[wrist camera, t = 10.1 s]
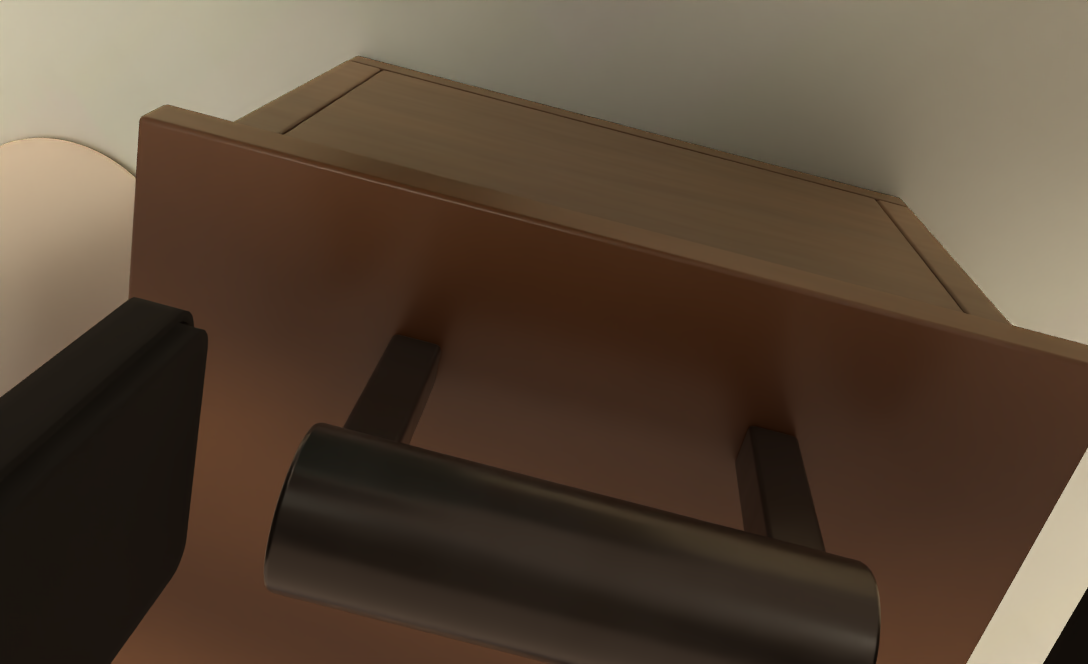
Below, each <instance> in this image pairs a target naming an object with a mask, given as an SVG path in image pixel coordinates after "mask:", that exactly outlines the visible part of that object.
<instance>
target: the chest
mask: <svg viewBox="0 0 1088 664" xmlns="http://www.w3.org/2000/svg"><path fill="white" fill-rule="evenodd" d="M234 122H236V123H240V124H244V125H248V126H251V127H255V128H259V129H263V130H267V131H270V132H274V133H278V134H282V135H286V136H290V137H293V138H297V139H301V140H305V141H309V142H313V143H316V144H320V145H324V146H328V147H332V148H335V149H339V150H343V151H347V152H351V153H355V154H358V155H362V156H366V157H370V158H374V159H378V160H381V161H385V162H389V163H393V164H397V165H401V166H404V167H408V168H412V169H416V170H420V171H423V172H427V173H431V174H435V175H439V176H443V177H446V178H450V179H454V180H458V181H462V182H466V183H469V184H473V185H477V186H481V187H485V188H489V189H492V190H496V191H500V192H504V193H508V194H511V195H515V196H519V197H523V198H527V199H531V200H534V201H538V202H542V203H546V204H550V205H554V206H557V207H561V208H565V209H569V210H573V211H576V212H580V213H584V214H588V215H592V216H596V217H599V218H603V219H607V220H611V221H615V222H619V223H622V224H626V225H630V226H634V227H638V228H642V229H645V230H649V231H653V232H657V233H661V234H664V235H668V236H672V237H676V238H680V239H684V240H687V241H691V242H695V243H699V244H703V245H707V246H710V247H714V248H718V249H722V250H726V251H729V252H733V253H737V254H741V255H745V256H749V257H752V258H756V259H760V260H764V261H768V262H772V263H775V264H779V265H783V266H787V267H791V268H795V269H798V270H802V271H806V272H810V273H814V274H817V275H821V276H825V277H829V278H833V279H837V280H840V281H844V282H848V283H852V284H856V285H860V286H863V287H867V288H871V289H875V290H879V291H882V292H886V293H890V294H894V295H898V296H902V297H905V298H909V299H913V300H917V301H921V302H925V303H928V304H932V305H936V306H940V307H944V308H948V309H951V310H955V311H959V312H963V313H967V314H970V315H974V316H978V317H982V318H986V319H990V320H993V321H997V322H1001V323H1005V324H1009V325H1011V324H1010V323H1009V322H1008V320H1007V319H1006V318H1005V317H1004V316H1003V315H1002V314H1001V312H1000V311H999V310H998V309H997V308H996V307H995V306H994V304H993V303H992V302H991V301H990V300H989V299H988V298H987V296H986V295H985V294H984V293H983V292H982V291H981V290H980V288H979V287H978V286H977V285H976V284H975V283H974V282H973V280H972V279H971V278H970V277H969V276H968V275H967V274H966V272H965V271H964V270H963V269H962V268H961V267H960V266H959V264H958V263H957V262H956V261H955V260H954V259H953V258H952V256H951V255H950V254H949V253H948V252H947V251H946V250H945V248H944V247H943V246H942V245H941V244H940V243H939V242H938V240H937V239H936V238H935V237H934V236H933V235H932V234H931V232H930V231H929V230H928V229H927V228H926V227H925V226H924V224H923V223H922V222H921V221H920V220H919V219H918V218H917V216H916V215H915V214H914V213H913V212H912V211H911V210H910V209H909V208H908V206H907V205H906V204H905V203H904V202H903V201H902V200H901V199H900V198H897V197H893V196H890V195H886V194H882V193H878V192H874V191H871V190H867V189H863V188H859V187H855V186H852V185H848V184H844V183H840V182H836V181H833V180H829V179H825V178H821V177H817V176H814V175H810V174H806V173H802V172H798V171H794V170H791V169H787V168H783V167H779V166H775V165H772V164H768V163H764V162H760V161H756V160H753V159H749V158H745V157H741V156H737V155H734V154H730V153H726V152H722V151H718V150H715V149H711V148H707V147H703V146H699V145H696V144H692V143H688V142H684V141H680V140H677V139H673V138H669V137H665V136H661V135H658V134H654V133H650V132H646V131H642V130H638V129H635V128H631V127H627V126H623V125H619V124H616V123H612V122H608V121H604V120H600V119H597V118H593V117H589V116H585V115H581V114H578V113H574V112H570V111H566V110H562V109H559V108H555V107H551V106H547V105H543V104H540V103H536V102H532V101H528V100H524V99H521V98H517V97H513V96H509V95H505V94H501V93H498V92H494V91H490V90H486V89H482V88H479V87H475V86H471V85H467V84H463V83H460V82H456V81H452V80H448V79H444V78H441V77H437V76H433V75H429V74H425V73H422V72H418V71H414V70H410V69H406V68H403V67H399V66H395V65H391V64H387V63H384V62H380V61H376V60H372V59H368V58H364V57H361V56H356V57H354V58H352V59H350V60H349V61H346V62H344V63H342V64H340V65H338V66H336V67H334V68H333V69H331V70H329V71H327V72H325V73H323V74H321V75H320V76H318V77H316V78H314V79H312V80H310V81H308V82H307V83H305V84H303V85H301V86H299V87H297V88H295V89H294V90H292V91H290V92H288V93H286V94H284V95H282V96H281V97H279V98H277V99H275V100H273V101H271V102H270V103H268V104H266V105H264V106H262V107H260V108H258V109H257V110H255V111H253V112H251V113H249V114H247V115H245V116H244V117H242V118H240V119H238V120H236V121H234Z"/></svg>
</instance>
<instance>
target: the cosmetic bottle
mask: <svg viewBox="0 0 1088 664" xmlns="http://www.w3.org/2000/svg"><path fill="white" fill-rule="evenodd" d="M135 184H136V178H135V177H134V176H133V175H132V174H131V173H129V172H128V171H127V170H126V169H125V168H123V167H122V166H120V165H119V164H118V163H116V162H115V161H113V160H112V159H110V158H108V157H106V156H105V155H103V154H101V153H99V152H97V151H95V150H92V149H90V148H88V147H85V146H83V145H79V144H76V143H73V142H69V141H64V140H59V139H51V138H29V139H21V140H16V141H12V142H9V143H6V144H3V145H0V397H1V396H3V395H4V394H5V393H7V392H8V391H9V390H11V389H12V388H13V387H15V386H16V385H17V384H18V383H20V382H21V381H22V380H24V379H25V378H26V377H28V376H29V375H30V374H32V373H33V372H34V371H35V370H37V369H38V368H39V367H41V366H42V365H43V364H45V363H46V362H47V361H49V360H50V359H51V358H52V357H54V356H55V355H56V354H58V353H59V352H60V351H62V350H63V349H64V348H66V347H67V346H68V345H69V344H71V343H72V342H73V341H75V340H76V339H77V338H79V337H80V336H81V335H83V334H84V333H85V332H86V331H88V330H89V329H90V328H92V327H93V326H94V325H96V324H97V323H98V322H100V321H101V320H102V319H103V318H105V317H106V316H107V315H109V314H110V313H111V312H113V311H114V310H115V309H117V308H118V307H119V306H120V305H122V304H123V303H124V302H126V301H127V300H128V294H129V278H130V262H131V247H132V231H133V215H134V200H135Z"/></svg>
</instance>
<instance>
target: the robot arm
mask: <svg viewBox="0 0 1088 664" xmlns="http://www.w3.org/2000/svg"><path fill="white" fill-rule="evenodd" d="M207 351H208V335H207V332H206V331H205V330H203V329H199V328H196V327H194V320H193V316H192V314H191V313H190V311H186V310H183V309H179V308H175V307H171V306H168V305H164V304H160V303H156V302H153V301H149V300H145V299H141V298H137V297H133V298H131V299H129V300H127V301H126V302H124V303H123V304H122V305H120V306H119V307H118V308H117V309H115V310H114V311H113V312H111V313H110V314H109V315H107V316H106V317H105V318H103V319H102V320H101V321H100V322H98V323H97V324H96V325H94V326H93V327H92V328H90V329H89V330H88V331H86V332H85V333H84V334H83V335H81V336H80V337H79V338H77V339H76V340H75V341H73V342H72V343H71V344H69V345H68V346H67V347H66V348H64V349H63V350H62V351H60V352H59V353H58V354H56V355H55V356H54V357H52V358H51V359H50V360H49V361H47V362H46V363H45V364H43V365H42V366H41V367H39V368H38V369H37V370H35V371H34V372H33V373H32V374H30V375H29V376H28V377H26V378H25V379H24V380H22V381H21V382H20V383H18V384H17V385H16V386H15V387H13V388H12V389H11V390H9V391H8V392H7V393H5V394H4V395H3V396H1V397H0V664H111V662H112V661H113V660H114V658H115V657H116V655H117V654H118V653H119V651H120V650H121V649H122V647H123V646H124V644H125V643H126V642H127V640H128V639H129V637H130V636H131V635H132V633H133V632H134V630H135V629H136V628H137V626H138V625H139V623H140V622H141V621H142V619H143V618H144V616H145V615H146V614H147V612H148V611H149V609H150V608H151V607H152V605H153V604H154V602H155V601H156V600H157V598H158V597H159V595H160V594H161V593H162V591H163V590H164V588H165V587H166V586H167V584H168V583H169V581H170V580H171V579H172V577H173V575H174V574H175V572H176V570H177V568H178V566H179V564H180V561H181V559H182V556H183V553H184V549H185V545H186V539H187V530H188V521H189V512H190V503H191V494H192V485H193V476H194V467H195V458H196V449H197V441H198V432H199V423H200V414H201V405H202V396H203V387H204V378H205V369H206V360H207ZM1043 664H1088V588H1087V590H1086V591H1085V593H1084V595H1083V597H1082V598H1081V600H1080V602H1079V603H1078V605H1077V607H1076V609H1075V610H1074V612H1073V614H1072V615H1071V617H1070V619H1069V620H1068V622H1067V624H1066V626H1065V627H1064V629H1063V631H1062V632H1061V634H1060V636H1059V638H1058V639H1057V641H1056V643H1055V644H1054V646H1053V648H1052V649H1051V651H1050V653H1049V655H1048V656H1047V658H1046V660H1045V661H1044V663H1043Z"/></svg>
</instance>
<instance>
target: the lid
mask: <svg viewBox="0 0 1088 664" xmlns="http://www.w3.org/2000/svg"><path fill="white" fill-rule="evenodd" d="M133 297H137V298H141V299H145V300H149V301H153V302H156V303H160V304H164V305H168V306H171V307H175V308H179V309H183V310H186V311H190V313H191V314H192V316H193V320H194V327H196V328H199V329H203V330H205V331H206V332H207V335H208V351H207V360H206V369H205V378H204V387H203V396H202V405H201V414H200V423H199V432H198V441H197V449H196V458H195V467H194V476H193V485H192V494H191V503H190V512H189V521H188V530H187V539H186V545H185V549H184V553H183V556H182V559H181V561H180V564H179V566H178V568H177V570H176V572H175V574H174V575H173V577H172V579H171V580H170V581H169V583H168V584H167V586H166V587H165V588H164V590H163V591H162V593H161V594H160V595H159V597H158V598H157V600H156V601H155V602H154V604H153V605H152V607H151V608H150V609H149V611H148V612H147V614H146V615H145V616H144V618H143V619H142V621H141V622H140V623H139V625H138V626H137V628H136V629H135V630H134V632H133V633H132V635H131V636H130V637H129V639H128V640H127V642H126V643H125V644H124V646H123V647H122V649H121V650H120V651H119V653H118V654H117V655H116V657H115V658H114V660H113V661H112V662H111V664H966V663H967V661H968V659H969V658H970V656H971V654H972V652H973V651H974V649H975V647H976V645H977V643H978V642H979V640H980V638H981V636H982V635H983V633H984V631H985V629H986V627H987V626H988V624H989V622H990V620H991V619H992V617H993V615H994V613H995V611H996V610H997V608H998V606H999V604H1000V603H1001V601H1002V599H1003V597H1004V595H1005V594H1006V592H1007V590H1008V588H1009V587H1010V585H1011V583H1012V581H1013V579H1014V578H1015V576H1016V574H1017V572H1018V571H1019V569H1020V567H1021V565H1022V563H1023V562H1024V560H1025V558H1026V556H1027V554H1028V553H1029V551H1030V549H1031V547H1032V546H1033V544H1034V542H1035V540H1036V538H1037V537H1038V535H1039V533H1040V531H1041V530H1042V528H1043V526H1044V524H1045V522H1046V521H1047V519H1048V517H1049V515H1050V514H1051V512H1052V510H1053V508H1054V506H1055V505H1056V503H1057V501H1058V499H1059V498H1060V496H1061V494H1062V492H1063V490H1064V489H1065V487H1066V485H1067V483H1068V482H1069V480H1070V478H1071V476H1072V474H1073V473H1074V471H1075V469H1076V467H1077V466H1078V464H1079V462H1080V460H1081V458H1082V457H1083V455H1084V453H1085V451H1086V450H1087V448H1088V345H1085V344H1081V343H1078V342H1074V341H1070V340H1066V339H1062V338H1058V337H1055V336H1051V335H1047V334H1043V333H1039V332H1035V331H1032V330H1028V329H1024V328H1020V327H1016V326H1013V325H1009V324H1005V323H1001V322H997V321H993V320H990V319H986V318H982V317H978V316H974V315H970V314H967V313H963V312H959V311H955V310H951V309H948V308H944V307H940V306H936V305H932V304H928V303H925V302H921V301H917V300H913V299H909V298H905V297H902V296H898V295H894V294H890V293H886V292H882V291H879V290H875V289H871V288H867V287H863V286H860V285H856V284H852V283H848V282H844V281H840V280H837V279H833V278H829V277H825V276H821V275H817V274H814V273H810V272H806V271H802V270H798V269H795V268H791V267H787V266H783V265H779V264H775V263H772V262H768V261H764V260H760V259H756V258H752V257H749V256H745V255H741V254H737V253H733V252H729V251H726V250H722V249H718V248H714V247H710V246H707V245H703V244H699V243H695V242H691V241H687V240H684V239H680V238H676V237H672V236H668V235H664V234H661V233H657V232H653V231H649V230H645V229H642V228H638V227H634V226H630V225H626V224H622V223H619V222H615V221H611V220H607V219H603V218H599V217H596V216H592V215H588V214H584V213H580V212H576V211H573V210H569V209H565V208H561V207H557V206H554V205H550V204H546V203H542V202H538V201H534V200H531V199H527V198H523V197H519V196H515V195H511V194H508V193H504V192H500V191H496V190H492V189H489V188H485V187H481V186H477V185H473V184H469V183H466V182H462V181H458V180H454V179H450V178H446V177H443V176H439V175H435V174H431V173H427V172H423V171H420V170H416V169H412V168H408V167H404V166H401V165H397V164H393V163H389V162H385V161H381V160H378V159H374V158H370V157H366V156H362V155H358V154H355V153H351V152H347V151H343V150H339V149H335V148H332V147H328V146H324V145H320V144H316V143H313V142H309V141H305V140H301V139H297V138H293V137H290V136H286V135H282V134H278V133H274V132H270V131H267V130H263V129H259V128H255V127H251V126H248V125H244V124H240V123H236V122H232V121H228V120H225V119H221V118H217V117H213V116H209V115H205V114H202V113H198V112H194V111H190V110H186V109H182V108H179V107H175V106H171V105H163V106H161V107H159V108H157V109H155V110H153V111H151V112H149V113H147V114H145V115H143V116H142V117H141V118H140V121H139V137H138V152H137V168H136V184H135V200H134V215H133V231H132V247H131V262H130V278H129V294H128V300H129V299H131V298H133Z"/></svg>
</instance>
